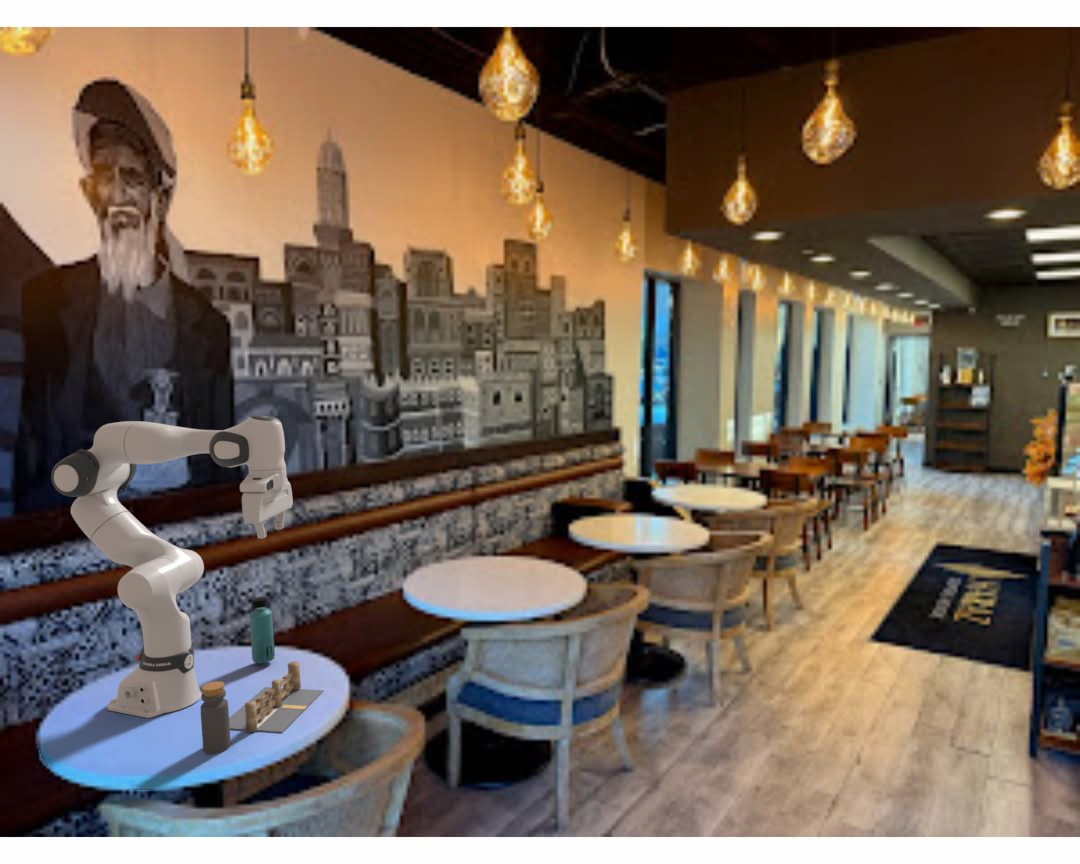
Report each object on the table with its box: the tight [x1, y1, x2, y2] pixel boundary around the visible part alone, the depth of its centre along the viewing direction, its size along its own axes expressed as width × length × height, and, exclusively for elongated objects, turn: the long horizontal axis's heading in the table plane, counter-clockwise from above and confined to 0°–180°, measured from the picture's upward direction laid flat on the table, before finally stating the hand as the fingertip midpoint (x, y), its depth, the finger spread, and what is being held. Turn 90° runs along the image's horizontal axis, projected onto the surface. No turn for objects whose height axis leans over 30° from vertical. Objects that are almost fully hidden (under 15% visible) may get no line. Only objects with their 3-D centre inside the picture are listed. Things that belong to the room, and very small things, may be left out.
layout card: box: [229, 686, 324, 734], centre depth 184 cm, size 17×22×1 cm
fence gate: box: [279, 660, 302, 699], centre depth 191 cm, size 3×10×7 cm, turn 171°
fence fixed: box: [244, 679, 281, 733], centre depth 179 cm, size 2×14×7 cm, turn 171°
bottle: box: [200, 681, 231, 755], centre depth 165 cm, size 6×6×15 cm
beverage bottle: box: [249, 596, 276, 664], centre depth 212 cm, size 6×7×20 cm
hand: (270, 533), depth 181 cm, fingers open, 8 cm apart
